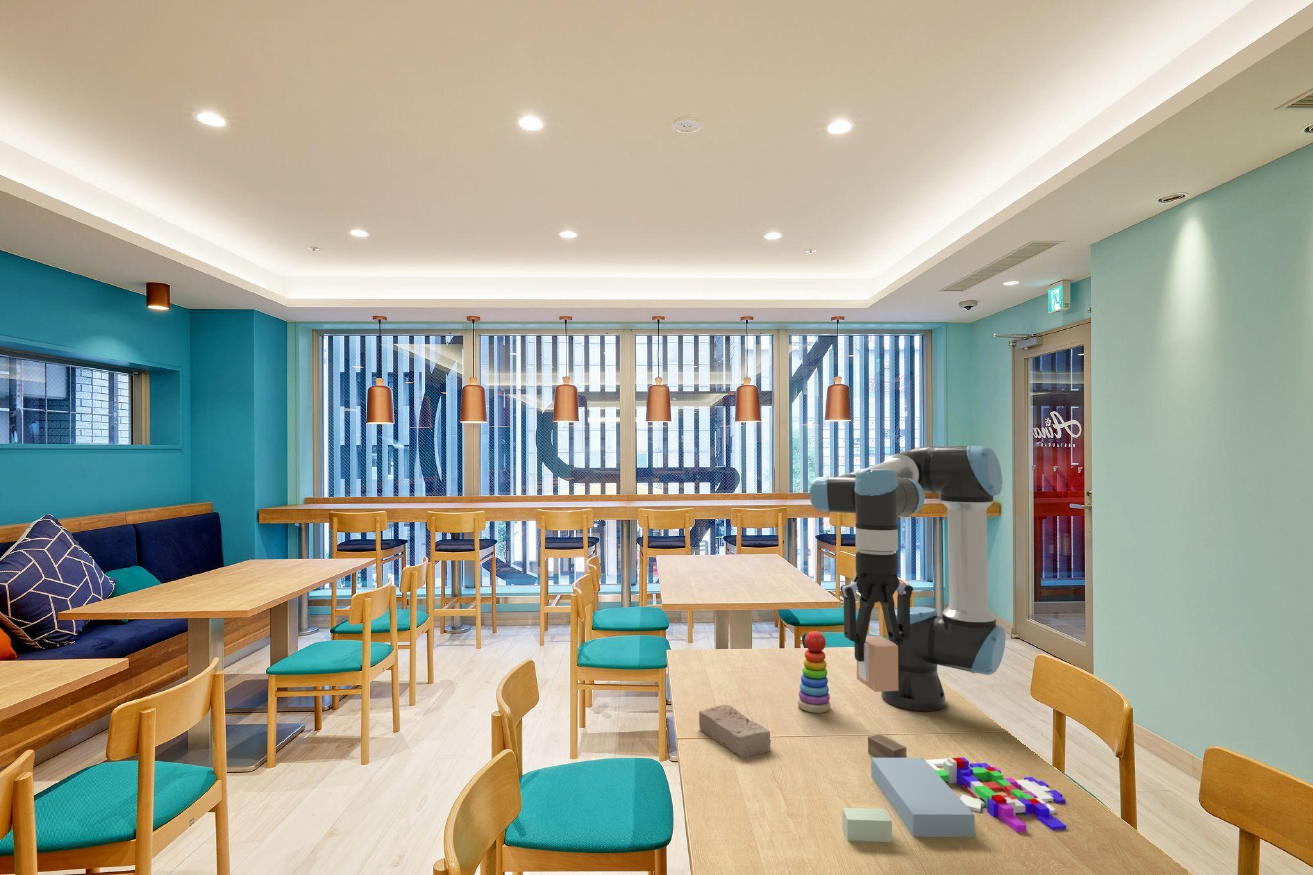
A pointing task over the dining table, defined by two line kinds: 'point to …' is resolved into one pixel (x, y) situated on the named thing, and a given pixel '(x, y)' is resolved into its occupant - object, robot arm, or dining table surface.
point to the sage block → (867, 825)
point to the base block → (922, 798)
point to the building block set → (997, 804)
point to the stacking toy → (814, 676)
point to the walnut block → (885, 747)
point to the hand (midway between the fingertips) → (877, 677)
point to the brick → (734, 730)
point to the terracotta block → (881, 665)
